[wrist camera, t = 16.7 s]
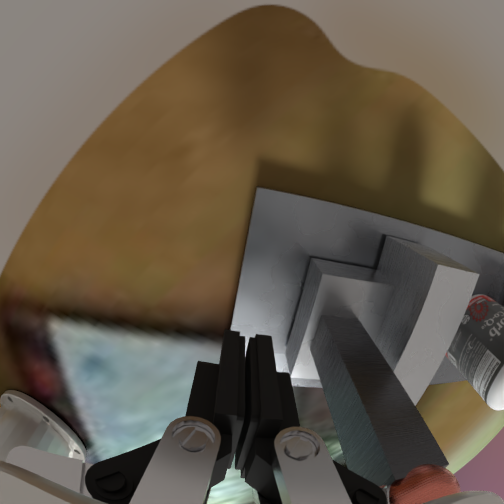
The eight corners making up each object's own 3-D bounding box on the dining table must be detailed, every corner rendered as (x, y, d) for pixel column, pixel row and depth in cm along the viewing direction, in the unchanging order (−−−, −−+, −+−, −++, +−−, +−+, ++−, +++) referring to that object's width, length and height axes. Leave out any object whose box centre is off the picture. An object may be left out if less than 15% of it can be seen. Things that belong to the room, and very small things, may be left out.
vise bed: (223, 366, 18) (216, 436, 13) (256, 186, 15) (263, 196, 9) (480, 370, 20) (511, 404, 14) (526, 261, 17) (570, 284, 11)
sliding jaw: (277, 376, 17) (305, 584, 4) (320, 220, 14) (548, 427, 1) (372, 380, 18) (448, 539, 5) (426, 245, 15) (609, 366, 2)
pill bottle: (495, 286, 16) (579, 343, 7) (479, 345, 18) (544, 411, 8) (447, 298, 16) (541, 378, 7) (431, 363, 18) (497, 449, 8)
